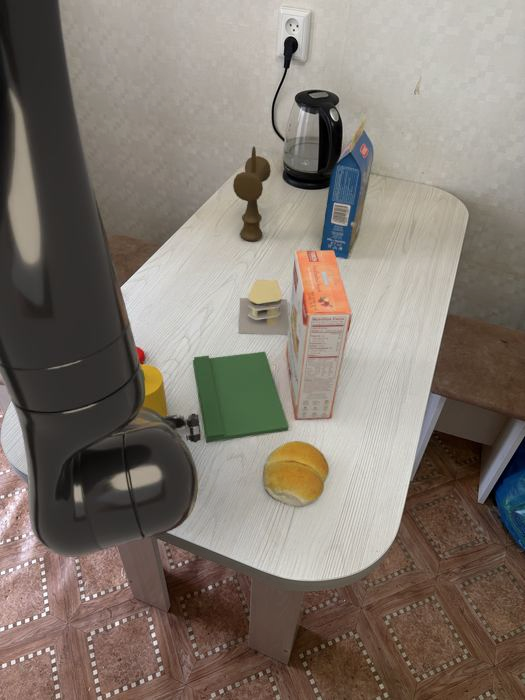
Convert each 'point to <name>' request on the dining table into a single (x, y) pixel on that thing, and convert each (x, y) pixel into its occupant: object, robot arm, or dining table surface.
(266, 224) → the dining table surface
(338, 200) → the blue food package
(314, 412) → the cracker box
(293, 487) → the bread roll
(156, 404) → the yellow cylinder with peg
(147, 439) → the robot arm
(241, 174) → the kendama
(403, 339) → the dining table surface
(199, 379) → the green notebook
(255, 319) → the stacked layers on plate
